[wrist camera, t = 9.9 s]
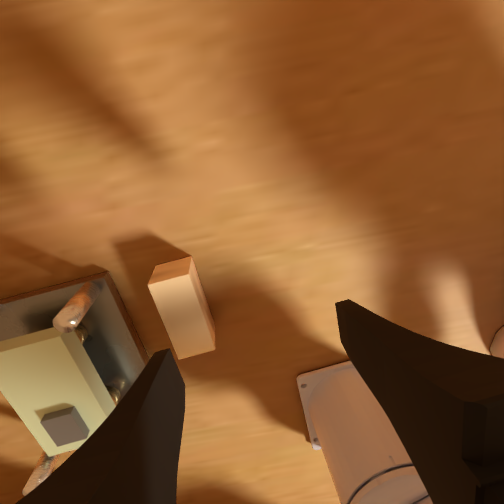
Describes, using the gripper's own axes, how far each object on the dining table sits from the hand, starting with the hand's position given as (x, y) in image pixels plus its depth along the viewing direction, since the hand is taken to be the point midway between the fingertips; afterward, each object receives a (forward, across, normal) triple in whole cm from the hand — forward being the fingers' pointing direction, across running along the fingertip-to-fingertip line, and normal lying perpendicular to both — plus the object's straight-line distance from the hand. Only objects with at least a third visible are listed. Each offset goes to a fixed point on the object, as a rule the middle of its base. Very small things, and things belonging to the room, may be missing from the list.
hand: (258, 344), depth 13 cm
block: (+10, +4, +2) cm, 11 cm away
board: (+7, +14, +5) cm, 17 cm away
